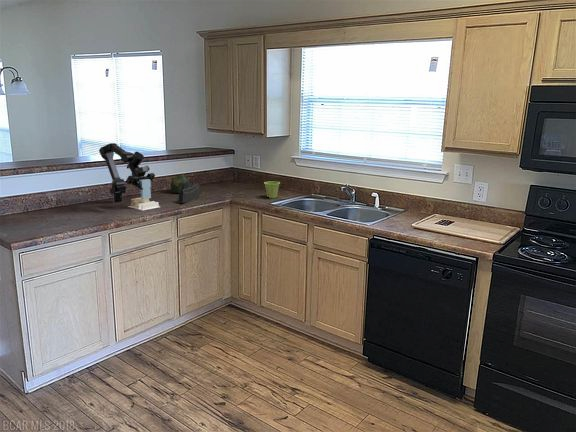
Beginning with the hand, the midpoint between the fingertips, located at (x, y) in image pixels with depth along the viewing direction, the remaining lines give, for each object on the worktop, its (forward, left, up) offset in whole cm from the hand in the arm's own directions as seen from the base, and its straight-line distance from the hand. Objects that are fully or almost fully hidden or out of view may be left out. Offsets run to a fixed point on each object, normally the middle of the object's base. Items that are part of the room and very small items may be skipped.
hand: (146, 188), depth 286 cm
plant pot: (-18, +90, -14) cm, 93 cm away
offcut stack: (-6, -4, -12) cm, 14 cm away
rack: (-3, -2, -13) cm, 14 cm away
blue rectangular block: (-1, -1, -6) cm, 7 cm away
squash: (-52, +28, -14) cm, 61 cm away
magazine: (-23, +31, -14) cm, 41 cm away
